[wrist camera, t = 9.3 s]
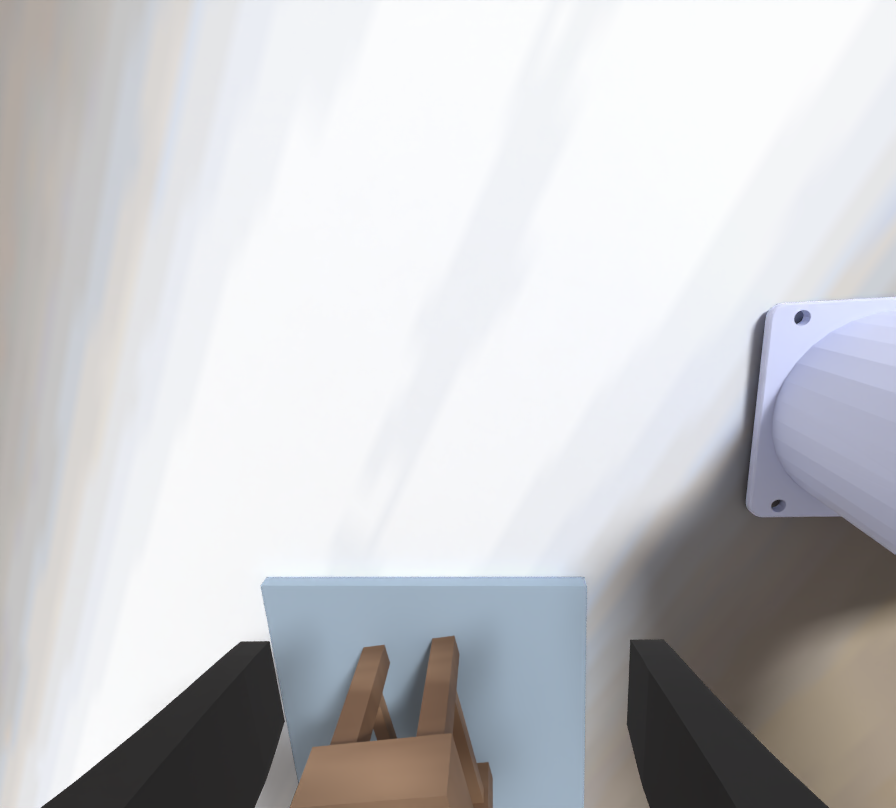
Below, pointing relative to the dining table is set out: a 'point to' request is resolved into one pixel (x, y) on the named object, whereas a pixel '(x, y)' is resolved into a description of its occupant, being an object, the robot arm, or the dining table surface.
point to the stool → (398, 746)
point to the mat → (479, 672)
